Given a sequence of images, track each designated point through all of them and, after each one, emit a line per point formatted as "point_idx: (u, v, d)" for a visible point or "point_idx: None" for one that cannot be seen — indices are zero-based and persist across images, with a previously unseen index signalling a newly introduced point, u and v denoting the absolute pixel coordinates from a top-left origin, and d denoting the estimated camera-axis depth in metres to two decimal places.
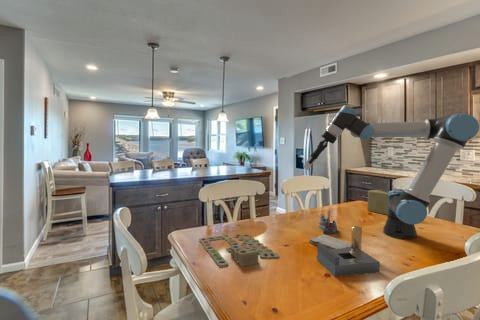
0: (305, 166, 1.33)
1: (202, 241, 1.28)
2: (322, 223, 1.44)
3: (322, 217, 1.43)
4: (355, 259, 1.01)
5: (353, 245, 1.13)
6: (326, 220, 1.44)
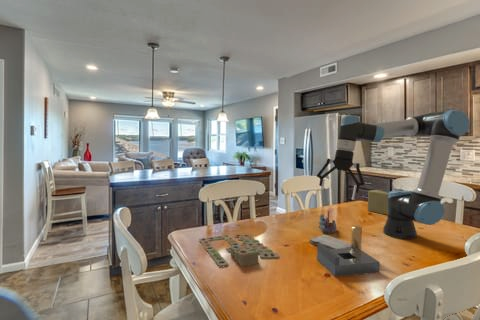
0: None
1: (202, 241, 1.28)
2: (321, 223, 1.44)
3: (321, 217, 1.43)
4: (355, 259, 1.01)
5: (353, 245, 1.13)
6: (325, 220, 1.44)
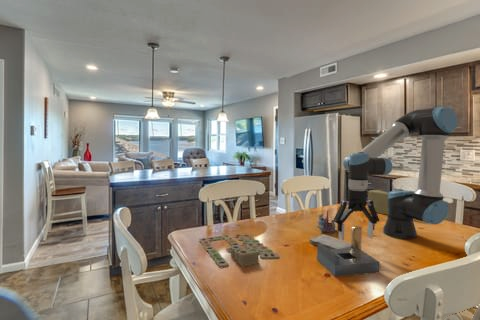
0: None
1: (202, 241, 1.28)
2: (320, 223, 1.45)
3: (320, 217, 1.44)
4: (355, 259, 1.01)
5: (353, 245, 1.13)
6: (324, 220, 1.44)
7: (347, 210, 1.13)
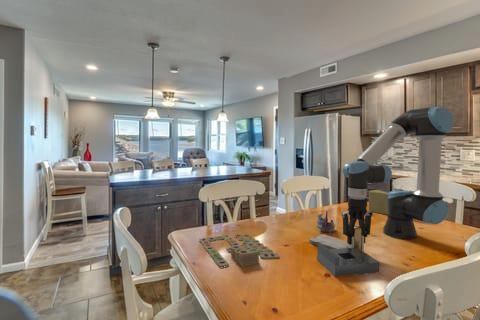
0: None
1: (202, 241, 1.28)
2: (319, 222, 1.45)
3: (319, 216, 1.44)
4: (355, 259, 1.01)
5: None
6: (323, 219, 1.45)
7: (351, 221, 1.13)
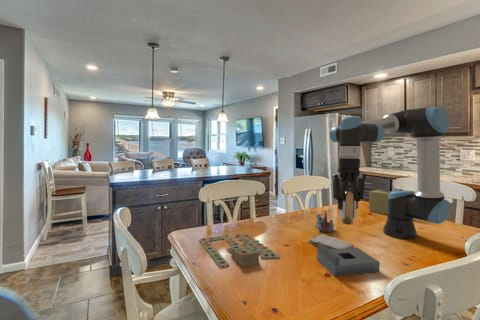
0: None
1: (202, 241, 1.28)
2: (318, 222, 1.46)
3: (318, 216, 1.45)
4: (355, 259, 1.01)
5: None
6: (322, 219, 1.45)
7: (342, 183, 1.02)
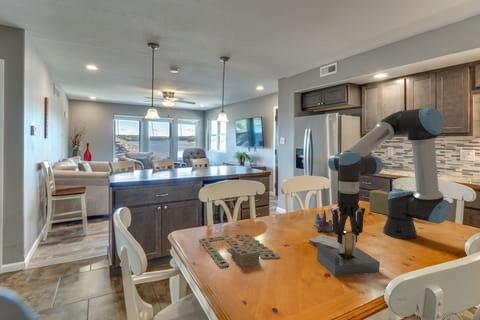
0: None
1: (202, 242, 1.28)
2: (317, 222, 1.47)
3: (317, 216, 1.46)
4: (355, 259, 1.01)
5: None
6: (321, 219, 1.46)
7: (341, 217, 1.03)
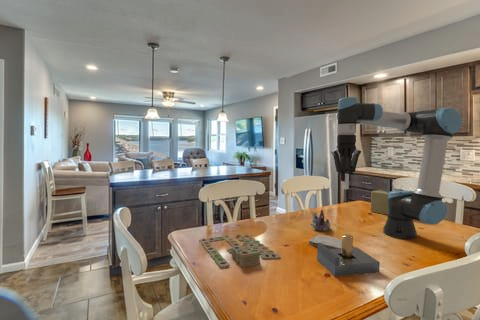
0: None
1: (202, 242, 1.27)
2: (314, 221, 1.48)
3: (314, 215, 1.47)
4: (355, 259, 1.01)
5: (343, 256, 1.03)
6: (318, 218, 1.48)
7: (341, 158, 1.14)
